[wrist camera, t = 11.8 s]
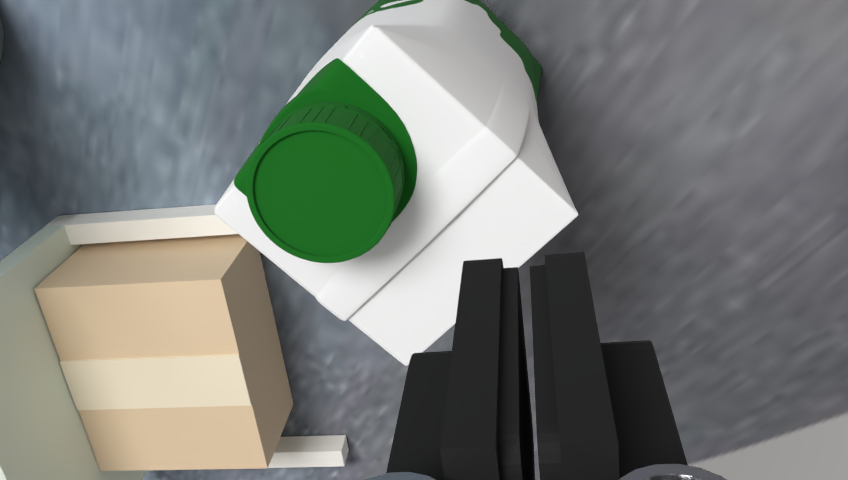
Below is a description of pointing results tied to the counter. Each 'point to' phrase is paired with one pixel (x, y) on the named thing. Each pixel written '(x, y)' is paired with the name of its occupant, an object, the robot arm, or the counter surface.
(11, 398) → the display stand
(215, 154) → the counter surface
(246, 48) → the counter surface
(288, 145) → the milk carton
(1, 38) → the bottle
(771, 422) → the counter surface
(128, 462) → the kraft carton
